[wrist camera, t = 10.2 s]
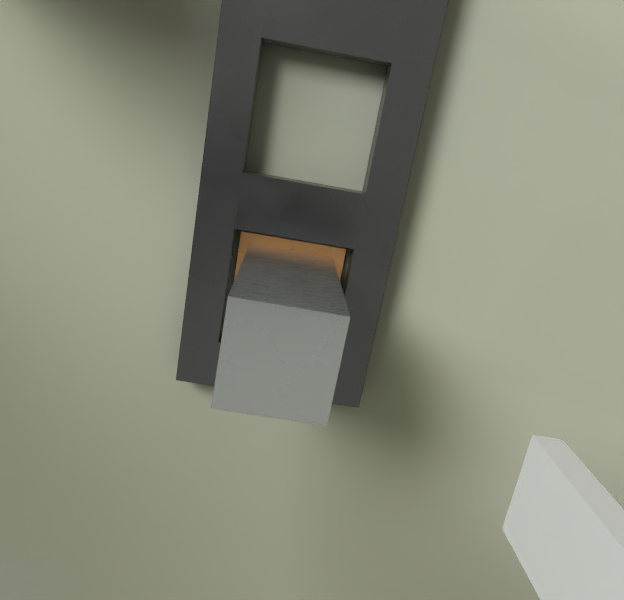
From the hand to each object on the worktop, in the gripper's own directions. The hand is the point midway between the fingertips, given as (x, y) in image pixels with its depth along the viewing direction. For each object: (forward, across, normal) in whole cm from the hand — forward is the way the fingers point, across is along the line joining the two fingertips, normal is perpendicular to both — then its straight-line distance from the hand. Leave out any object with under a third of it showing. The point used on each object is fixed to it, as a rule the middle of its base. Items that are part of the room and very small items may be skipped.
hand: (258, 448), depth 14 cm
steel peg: (+15, +1, 0) cm, 15 cm away
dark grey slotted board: (+15, +1, +8) cm, 17 cm away
